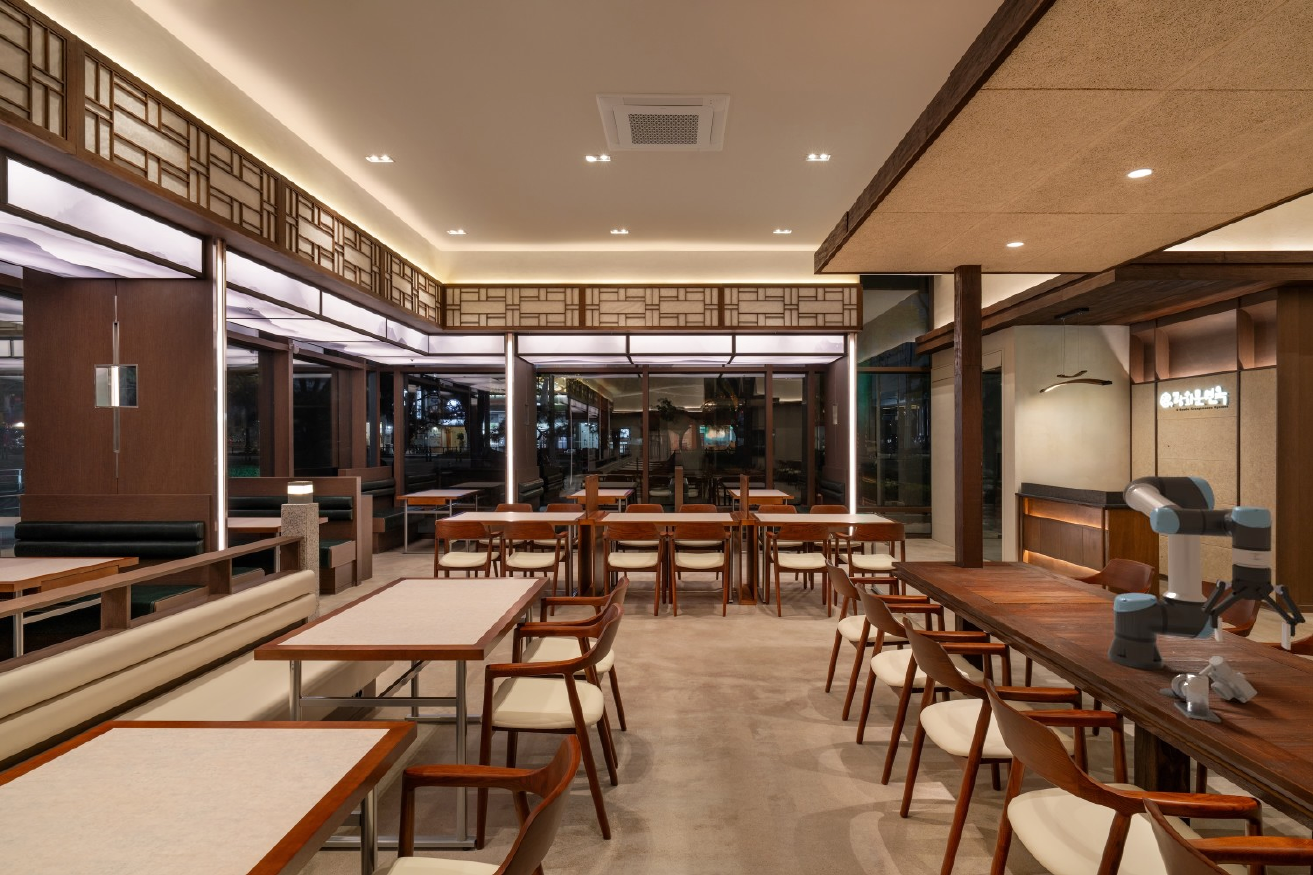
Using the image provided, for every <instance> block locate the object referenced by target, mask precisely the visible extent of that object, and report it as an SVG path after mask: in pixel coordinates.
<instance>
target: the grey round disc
mask: <svg viewBox="0 0 1313 875" xmlns="http://www.w3.org/2000/svg"><path fill="white" fill-rule="evenodd" d="M1159 693H1160V694H1161V695H1162V696H1165V697H1168V698H1172V699H1177V700H1178V699H1179V700H1181V699H1180V698H1178V697H1177V696H1175V695H1174V693H1173V691H1172V688H1159Z"/></svg>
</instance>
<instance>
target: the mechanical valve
mask: <svg viewBox="0 0 1313 875" xmlns="http://www.w3.org/2000/svg"><path fill="white" fill-rule="evenodd" d="M1208 663H1209V665H1207V666H1206V667H1204V668H1203V670H1201V671H1200V672H1199V673H1198V674H1202V675H1205V676H1207V677H1208V678H1211V680H1212V681H1213V682H1212V683H1211V684H1210V687H1211V689H1212V690H1213V691H1214V692H1215V693H1216V694H1217V695H1218V696H1219V697H1221V698H1223V699H1225V700H1227V701H1231V699H1233V698H1235V699H1237V700H1238V701H1239V702H1240V703H1243V704H1245V703H1246V702H1248V701H1249V700H1251V699H1253V697H1255V696H1256V695H1257V694H1258V692H1257V690H1256V689H1254V687H1253V686H1252V685H1251V683H1250V682H1249V681H1247V680H1246V678H1247V677H1246V675H1244V674H1243V673H1242V672H1236V671H1234V670H1233V669H1231V667H1230V665H1229V664H1228V663H1227V662H1226V661H1225V659H1224V658H1223V657H1222V656H1219V655H1213V656H1211V657H1210V658H1209V659H1208ZM1171 689H1172V688H1171ZM1172 691H1173V689H1172ZM1173 693H1174V695H1175V696H1177V697H1178V698H1180V699H1179V700H1185V699H1184V698H1181V697H1180V696H1178V695H1177V694H1176V693H1175V692H1174V691H1173Z"/></svg>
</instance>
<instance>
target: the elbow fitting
mask: <svg viewBox="0 0 1313 875" xmlns="http://www.w3.org/2000/svg"><path fill="white" fill-rule="evenodd" d="M1209 678H1210V677H1209V676H1208V675H1207V676H1205V675H1202V674H1199V673H1198V672H1187V673H1181V674H1177V675H1175V676H1174V677H1173V678H1172V680H1171V683H1170V684H1171V689H1173V691H1174V692H1175V693H1176V694H1177V695H1178V696H1180V697H1181V698H1184V699H1183V700H1186V702H1180V701H1179V702H1178V701H1174V702H1173V705H1174V707H1176V708H1177V709H1178V710H1179V711H1180V712H1181V713H1182V714H1183V715H1184V716H1185V717H1186V718H1187V719H1190V718H1193V719H1192V720H1197V719H1201V720H1200V721H1205V720H1207V721H1206V722H1212V723H1221V722H1222V721H1221V718H1220V717H1219V716H1217V715H1216V714H1215V713H1214V712H1213V711H1212V710H1210V708H1209V698H1210V696H1209V691H1210V690H1209V686H1210V685H1209V684H1210V683H1209Z"/></svg>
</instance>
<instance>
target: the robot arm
mask: <svg viewBox="0 0 1313 875" xmlns="http://www.w3.org/2000/svg"><path fill="white" fill-rule="evenodd" d="M1122 498H1123V500H1124V502H1125V504H1127V506H1129V507H1130V508H1131V509H1133V510H1135V511H1137V512H1142V513H1143V514H1144V515H1145V516H1146V517H1148V518H1149V522H1150V527H1151V530H1152V531H1153V532H1155V533H1156V534H1165V535H1167V569H1168V570H1167V573H1168V574H1167V575H1168V576H1167V578H1168V579H1167V580H1168V582H1167V583H1168V584H1167V586H1168V588H1167V589H1168V590H1167V591H1165V592H1164V593H1162V599H1158V598H1157V596H1156V595H1153V594H1149V593H1142V592H1129V593H1121V594H1118V595H1117V596H1115V598H1114V601H1113V602H1114V604H1113V622H1114V623H1113V627H1114V628H1113V629H1114V630H1113V639H1112V640H1111V643H1110V645H1109V648H1108V652H1107V657H1108V659H1109V660H1110V661H1111V662H1113V663H1116V664H1118V665H1121V666H1125V667H1128V668H1134V669H1138V670H1147V671H1148V670H1149V671H1150V670H1151V671H1155V670H1156V671H1157V670H1162V669H1163V668H1164V666H1165V665H1164V658H1163V656H1162V653H1161V650H1160V649H1159V648H1160V647H1159V646H1158V640H1157V638H1158V635H1159V636H1160V635H1161V636H1169V637H1179V638H1186V639H1187V638H1188V639H1190V640H1194V639H1200V640H1202V639H1203V640H1206V639H1209V638H1211V637H1212V635H1213V634H1214V639H1215V641H1217V642H1218V643H1223V617H1221V616H1220V615H1222V614H1223V613H1224V612H1226V611H1227V610H1228V609H1229V608H1231V607H1232V606H1233V605H1234V604H1235V603H1237V602H1239V601H1241V600H1242V599H1243V600H1245V601H1256V602H1262V601H1264V602H1265V603H1267V605H1268V606H1270V607H1271V608H1272V610H1274V611H1275V612H1276V613H1277V614H1278V615H1279V616H1280V618H1282V619H1283V620H1284V621H1281V647H1282V648H1283V649H1285V650H1287V651H1288V650H1289V651H1291V649H1292V648H1291V646H1292V645H1291V642H1292V641H1291V637H1293V638H1294V637H1295V636H1296V626H1298V624H1306V618H1305V617H1304V616H1303V614H1302V612H1301V611H1300V609H1299V608H1298V607H1297V605H1296V603H1295V602H1294V600H1293V598H1292V596H1290V593H1289V592H1290V591H1289V588H1288V587H1287V586H1286V585H1284V584H1277V585H1273V584H1272V568H1271V567H1270V566H1272V525H1273V520H1272V512H1271V511H1270V509H1268V508H1266V507H1259V506H1246V505H1245V506H1243V505H1242V506H1238V505H1237V506H1235V507H1233V508H1222V509H1215V506H1216V502H1215V501H1216V500H1215V495H1214V492H1213V489H1212V487H1211V485H1210V483H1209V482H1208V480H1206V479H1204V478H1202V477H1195V476H1155V475H1149V476H1142V477H1138V478H1135V479H1134V480H1132V481H1130V482H1129V483H1127V485H1126V486H1125V487H1124V489H1123V492H1122ZM1202 536H1203V537H1222V538H1226V537H1228V538H1231V561H1232V563H1233V564H1232V565H1231V581H1230V582H1229V581H1224V580H1221V579H1217V580H1216V582H1215V588H1214V589H1213V590H1212V592H1211V593H1210V595H1209V596H1208V598H1207V597H1205V595H1204V594H1203V593H1202V592H1203V590H1202V588H1203V583H1202V580H1203V578H1202V577H1203V576H1202ZM1229 588H1231V589H1232V592H1230V593H1229V594H1228V596H1227V597H1226V598H1224V599H1223V600H1221V598H1222V596H1223V594H1224V593H1225V591H1226V590H1228V589H1229ZM1274 591H1275V593H1276V594H1278V595H1279V596H1280V598H1281V599H1282V602H1283V603H1284V604H1285V606H1286V608H1288V610H1289V612H1290V613H1291V616H1290V615H1289V613H1287V611H1285V610H1284V608H1283V607H1282V606H1280V604H1278V603H1277V601H1275V599H1274V598H1272V597H1271V594H1272V593H1273V592H1274ZM1219 600H1221V602H1219ZM1218 602H1219V603H1218ZM1217 603H1218V604H1217Z"/></svg>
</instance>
